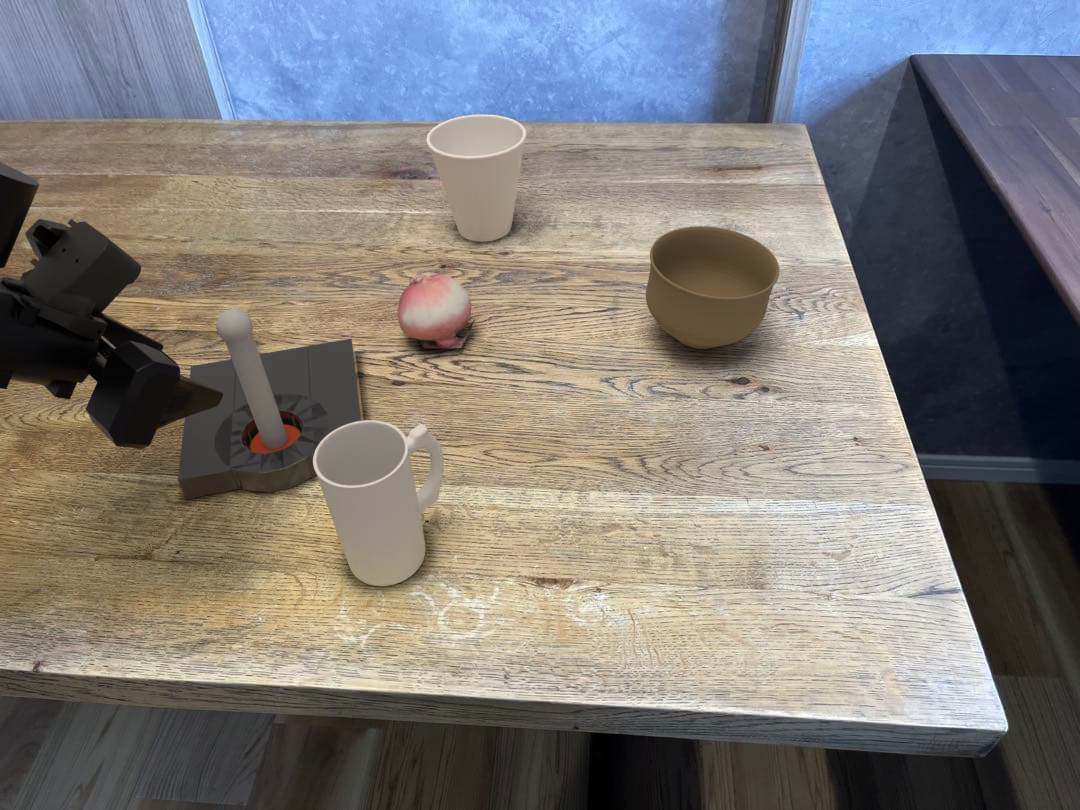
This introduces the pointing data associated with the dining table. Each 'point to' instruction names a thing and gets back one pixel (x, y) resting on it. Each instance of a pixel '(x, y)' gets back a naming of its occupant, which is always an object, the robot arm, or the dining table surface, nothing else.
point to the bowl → (709, 285)
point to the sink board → (303, 402)
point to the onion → (435, 311)
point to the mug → (378, 496)
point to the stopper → (254, 383)
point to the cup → (479, 171)
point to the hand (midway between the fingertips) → (189, 373)
